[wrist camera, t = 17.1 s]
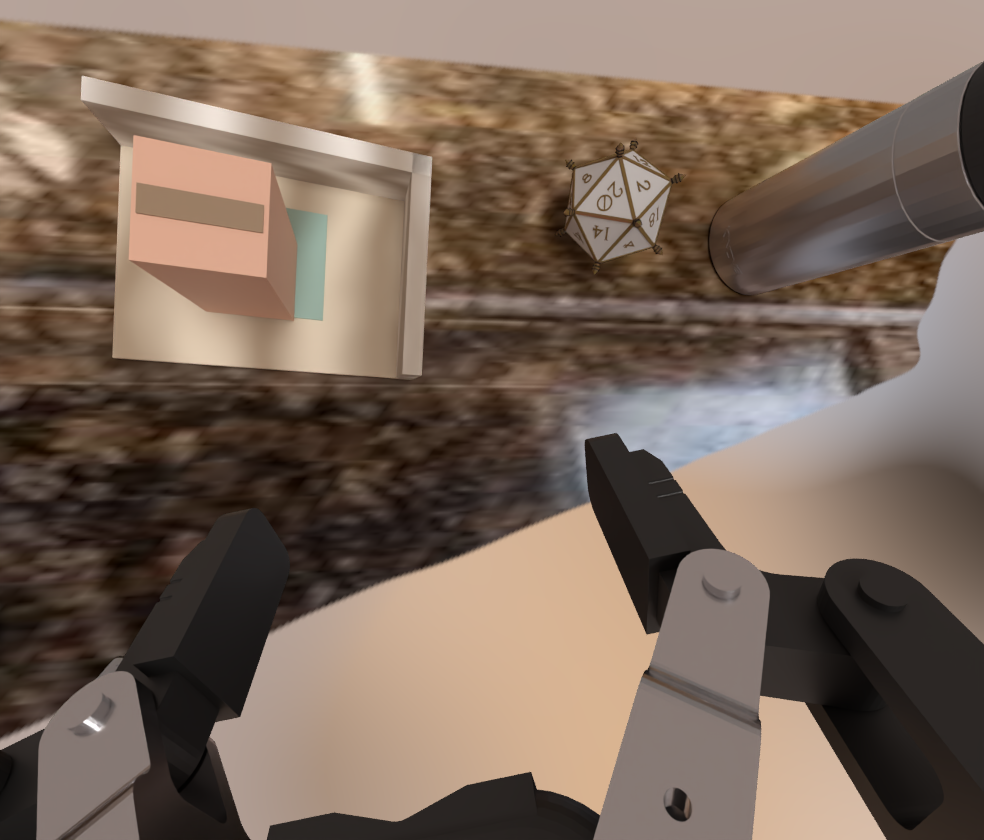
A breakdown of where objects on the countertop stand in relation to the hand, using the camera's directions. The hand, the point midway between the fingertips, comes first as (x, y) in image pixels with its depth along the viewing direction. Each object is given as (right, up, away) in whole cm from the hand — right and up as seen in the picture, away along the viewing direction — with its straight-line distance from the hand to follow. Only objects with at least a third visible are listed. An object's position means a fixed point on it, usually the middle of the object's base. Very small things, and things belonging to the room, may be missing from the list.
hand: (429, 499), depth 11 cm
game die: (+9, +18, +26) cm, 32 cm away
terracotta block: (-14, +11, +17) cm, 25 cm away
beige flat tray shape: (-13, +12, +18) cm, 25 cm away
